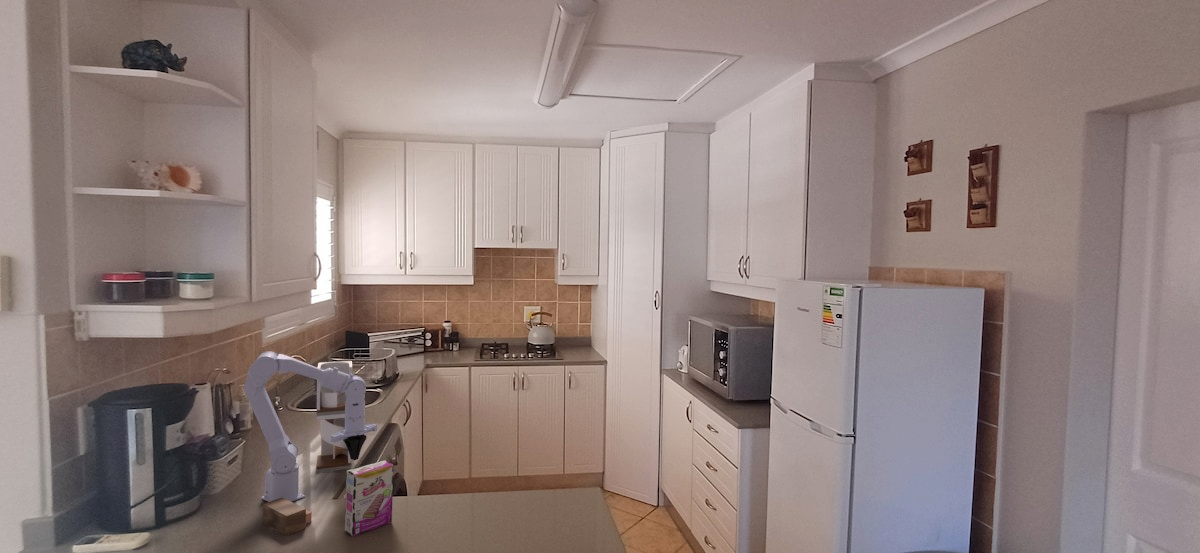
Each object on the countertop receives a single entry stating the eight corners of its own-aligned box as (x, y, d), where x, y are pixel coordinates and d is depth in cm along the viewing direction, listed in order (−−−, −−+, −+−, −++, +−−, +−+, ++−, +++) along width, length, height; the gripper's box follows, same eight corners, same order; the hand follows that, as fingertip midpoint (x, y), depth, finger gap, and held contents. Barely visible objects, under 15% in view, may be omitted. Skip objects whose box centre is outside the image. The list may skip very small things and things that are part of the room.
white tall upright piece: (317, 461, 192) (318, 362, 191) (350, 457, 196) (351, 360, 195) (315, 473, 182) (317, 368, 180) (350, 468, 186) (352, 366, 185)
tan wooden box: (262, 522, 147) (262, 503, 147) (281, 515, 152) (281, 497, 151) (286, 535, 141) (286, 516, 141) (305, 528, 145) (305, 508, 145)
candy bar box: (353, 538, 141) (354, 475, 140) (344, 531, 144) (344, 470, 144) (393, 522, 150) (394, 463, 149) (383, 516, 153) (384, 459, 152)
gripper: (340, 423, 161) (340, 469, 162) (383, 412, 174) (382, 455, 174) (327, 419, 165) (326, 463, 165) (369, 409, 177) (369, 450, 178)
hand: (354, 459), depth 170 cm, fingers closed
